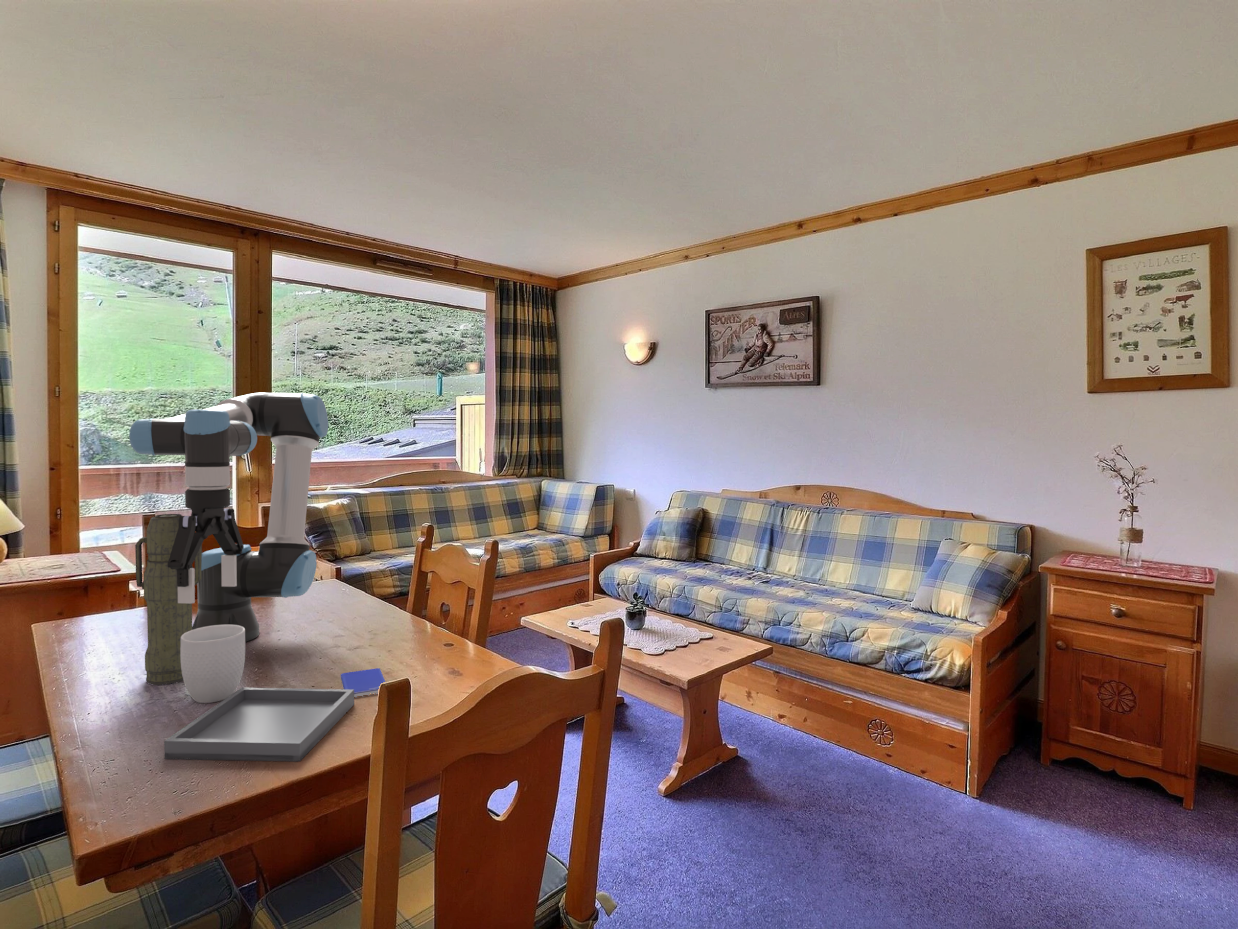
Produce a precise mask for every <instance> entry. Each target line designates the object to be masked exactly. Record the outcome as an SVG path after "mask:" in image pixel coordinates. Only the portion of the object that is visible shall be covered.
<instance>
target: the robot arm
mask: <svg viewBox="0 0 1238 929" xmlns="http://www.w3.org/2000/svg"><path fill="white" fill-rule="evenodd" d="M324 402H325V401H323V399H322V397H320V396H319V395H317V394H314V393H313V394H312V393H304V392H300V393H299V392H297V393H289V392H265V391H264V392H254V393H247V394H244V395H239V396H234V397H231V398H226V399H224V400H221V401H219V402H218V403H217V404H216V405H215V406H212V407H208V408H203V409H200V408H199V409H198V408H197V409H189V410H187V411H185V413H183V414H180V415H175V416H171V417H166V418H142V419H141V418H140V419H136V420H135V421H134V422H133V423H132V424H131V427H130V429H129V435H128V437H129V444H130V446H131V448H132V450H133V451H134V452H136V453H137V454H140V455H147V456H148V455H150V456H154V457H155V456H184V461H185V462H184V467H185V470H184V474H185V478H184V479H185V481H184V485H185V487H187V489H186V490H185V492H184V502H185V503H184V506H185V508H187V509H188V510H189V509H190V510H191V514H190V515H182V516H180V517H179V528H178V531H177V535H176V538H175V541H174V544H173V548H172V551H171V554H170V558H169V561H168V565H167V566H168V568H171V569H176V570H177V586H178V603H191V604H192V605H193V604H195V602H196V599H195V598H196V596H195V595H196V594H195V593H196V588H195V586H197V613H196V616H195V618H194V621H193V622H192V630H194V629H197V628H201V627H206V626H213V625H239V626H242V627H244V628H245V643H246V642H249V641H252V640H254V639H256V638H257V637H258V636H259V635H260V624H259V621H258V619H257V616H256V614H255V611H254V609H253V607H252V598H285V599H286V598H290V597H300V596H303V595H305V594H306V593H307V592H308V591H309V589H310V587H311V586H312V584H313V582H314V579H315V575H316V571H317V555H316V552H314V551H313V550H310V548H311V546H310V543H309V542H308V541H307V540H306V539H305V529H306V523H307V522H306V519H307V509H308V498H309V485H310V476H311V465H312V455H313V454H312V453H313V450H314V449H315V448H317V447H318V446H319V445H320V438H321V439H322V438H324V437H327V435H328V432H329V418H328V412H327V408H326V405H325V403H324ZM258 436H265V437H266V436H267V437H270V441H271V442H272V444H273V445H274V446H275V448H276V449H275V456H274V457H275V458H274V467H273V479H272V486H271V494H270V495H271V496H270V506H269V514H268V515H269V516H268V525H267V535H266V537H265V538H264V539H263V540H262V541H260V543H259V548H258V550H257V551H256V550H252V549H253V548H252V547H251V545H250V544H244V542H243V539H242V536H241V534H240V530H239V527H238V524H237V522H236V517H235V516H236V514H235V509H234V508H229V506H231V489H229V488H228V486H230V485H231V470H230V469H231V467H230V466H231V464H230V458H231V457H241V456H243V455H247V454H249V453H250V452H252V451H253V450H254V449H255V448H256V447H257V446H256V445H257V443H258ZM212 535H213V537H214V539H215V541H216V542H217V544H218V545H219V548H213V549H210V550H206V551H204V552H203V551H202V563H201V575H202V579H201V580H200V581H199V582H198V583H197V584H196V585H195V567H193V563H195V558H196V555H197V553H198V551H199V549H200V547H201V545H202V546H203V542H204V540H207V539H208V538H209V536H212ZM191 566H192V567H193V568H191Z"/></svg>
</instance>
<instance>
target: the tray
mask: <svg viewBox="0 0 1238 929" xmlns="http://www.w3.org/2000/svg"><path fill="white" fill-rule="evenodd" d="M354 705H355V698H354V690H349V689H343V688H342V689H340V688H339V689H338V688H335V689H334V688H295V687H294V688H291V687H286V688H285V687H284V688H283V687H282V688H281V687H241V688H239V689H238V690H235V692H234V693H233V694H232V695H230V696H229V697H227V698H226V699H225V700H222V701H219V703H218V704H216V705H214V706H213V707H212V708H210V709H208V710H207V711H205V713H203V714H201V715H200V716H198V717H197V718H195V719H194V720H192V721H191V722H190V723H188V724H187V725H185V726H183V728H181V729H180V730H178V731H177V732H175V733H174V734H172V735H171V736H170V737H168V738H166V739H165V740H164V741H163V742H164V744H163V745H164V746H163V748H164V753H163V754H164V760H195V761H196V760H197V761H199V760H201V761H204V760H205V761H251V762H252V761H254V762H255V761H257V762H258V761H259V762H262V761H264V762H301V761H302V760H303V759H304V758H305V757H306V756H307V755H308V753H309V752H310V751H312V750H313V748H314V747H315V746H317V744H319V742H320V741H321V740H322V739H324V737H325V736H326V735H327V734H328V733H329V731H331V730H332V729H333V727H334V726H335V725H336V724H337V723H338V722H340V720H341V719H342V718H343V717H344V715H346V714H347V713H348V712H349V710H351V708H353V707H354ZM346 712H347V713H346Z"/></svg>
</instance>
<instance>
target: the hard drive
mask: <svg viewBox="0 0 1238 929" xmlns="http://www.w3.org/2000/svg"><path fill="white" fill-rule="evenodd" d="M340 681H342V682H341V686H342V685H343V686H342V689H349V690H354V697H355V698H358V697H357V696H362V697H364V696H363V695H368V696H370V695H369V694H370V693H371V694H373V693H374V695H379V694H378V689H379V686H380V684H381V683H383V682H386V680H385V677H384V675H383V673H382V670H381V668H378V667H377V668H370V669H369V668H368V669H361V670H356V671H349V672H343V673H341V674H340ZM375 693H376V694H375Z"/></svg>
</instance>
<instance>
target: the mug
mask: <svg viewBox="0 0 1238 929" xmlns="http://www.w3.org/2000/svg"><path fill="white" fill-rule="evenodd" d="M180 650H181V652H180V653H181V654H180V656H181V659H180V660H181V670H182V676H183V680H184V681H183V683H184V686H185V689H186V691H187V693H188V694H189V695H190V697H191V698H192V699H193V700H194V701H195V702H196V703H200V704H210V703H213V704H214V703H216V702H217V703H218V702H222V701H223V700H225V699H226V698H227V697H229V696H230V695H232V694H233V693H235V692H236V691H237V689H238V687H239V686H240V682H241V679H242V678H243V677H242V676H243V672H244V669H245V660H246V642H245V628H244V627H242V626H239V625H213V626H206V627H201V628H197V629H194V630H191V631H188V632H186V633H184V634H183V635H182V636H181V647H180Z"/></svg>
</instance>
